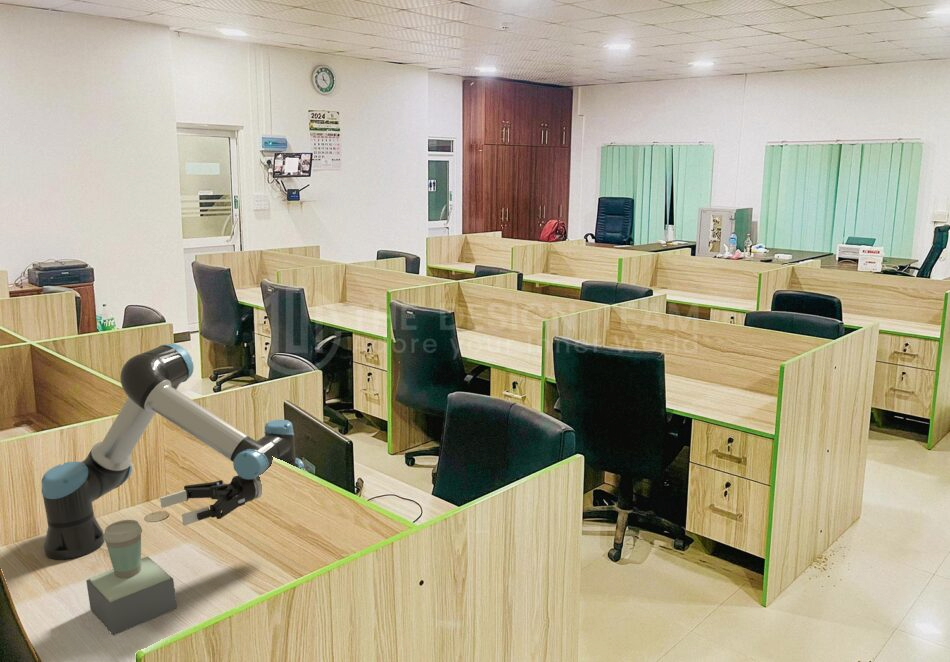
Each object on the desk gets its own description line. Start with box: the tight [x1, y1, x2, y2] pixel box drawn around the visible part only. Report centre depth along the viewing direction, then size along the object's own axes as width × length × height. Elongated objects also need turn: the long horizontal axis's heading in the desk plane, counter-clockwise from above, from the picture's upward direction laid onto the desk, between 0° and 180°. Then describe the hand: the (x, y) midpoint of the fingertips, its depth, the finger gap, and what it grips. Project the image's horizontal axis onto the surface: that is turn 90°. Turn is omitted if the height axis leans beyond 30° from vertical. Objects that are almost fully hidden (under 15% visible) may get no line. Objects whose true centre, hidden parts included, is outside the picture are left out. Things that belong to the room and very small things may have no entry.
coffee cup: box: [103, 519, 143, 578], centre depth 187 cm, size 8×9×12 cm
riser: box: [85, 556, 178, 636], centre depth 187 cm, size 15×15×9 cm
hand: (171, 511), depth 193 cm, fingers open, 13 cm apart
